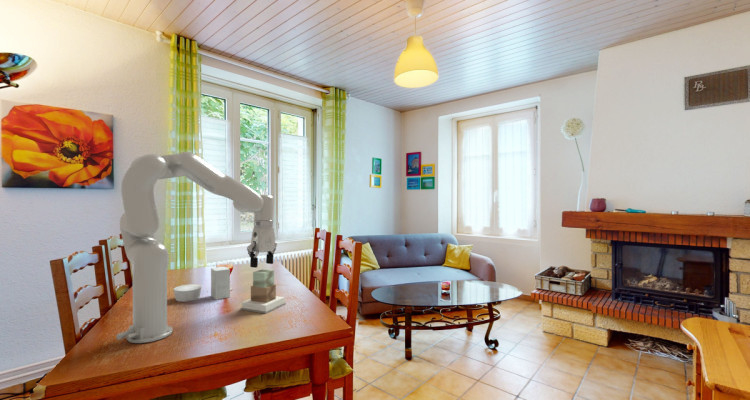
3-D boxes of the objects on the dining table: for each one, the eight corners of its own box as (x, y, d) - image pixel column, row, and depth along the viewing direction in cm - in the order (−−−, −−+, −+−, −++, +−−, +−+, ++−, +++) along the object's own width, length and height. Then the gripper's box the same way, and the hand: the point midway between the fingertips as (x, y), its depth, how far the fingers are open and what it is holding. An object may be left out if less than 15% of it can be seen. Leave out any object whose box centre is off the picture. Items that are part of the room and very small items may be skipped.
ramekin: (193, 303, 148) (193, 290, 148) (167, 302, 148) (167, 290, 148) (206, 295, 159) (206, 284, 159) (182, 295, 160) (182, 283, 159)
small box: (230, 297, 156) (230, 269, 156) (215, 300, 152) (215, 270, 152) (225, 293, 162) (225, 266, 162) (210, 295, 158) (210, 267, 158)
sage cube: (264, 287, 139) (264, 273, 139) (252, 286, 141) (252, 272, 141) (274, 284, 145) (274, 270, 145) (262, 283, 147) (262, 269, 147)
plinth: (266, 313, 135) (266, 306, 135) (240, 309, 140) (240, 302, 140) (285, 304, 147) (285, 297, 147) (261, 300, 151) (261, 293, 151)
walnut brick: (266, 302, 139) (266, 288, 139) (250, 300, 142) (250, 286, 142) (275, 298, 144) (275, 284, 144) (260, 296, 147) (260, 282, 147)
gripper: (256, 225, 133) (254, 269, 133) (283, 223, 149) (282, 263, 149) (241, 224, 136) (239, 267, 136) (269, 223, 152) (268, 261, 152)
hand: (262, 265), depth 142 cm, fingers open, 9 cm apart
